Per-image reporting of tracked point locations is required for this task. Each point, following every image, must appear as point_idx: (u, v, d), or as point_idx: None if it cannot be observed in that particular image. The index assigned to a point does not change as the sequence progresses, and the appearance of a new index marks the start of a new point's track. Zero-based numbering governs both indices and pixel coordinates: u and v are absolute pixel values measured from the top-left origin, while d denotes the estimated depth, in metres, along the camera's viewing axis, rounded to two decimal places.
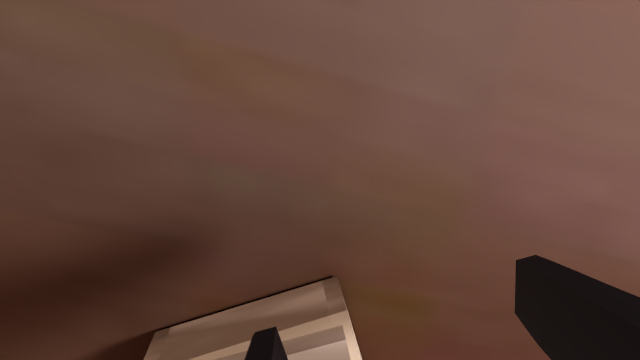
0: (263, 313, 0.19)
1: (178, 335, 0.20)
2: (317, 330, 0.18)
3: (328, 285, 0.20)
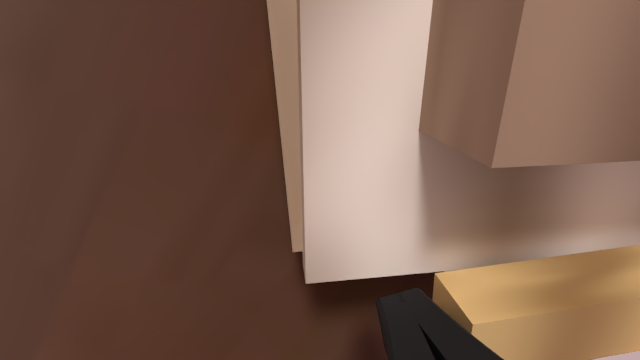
0: None
1: None
2: None
3: None
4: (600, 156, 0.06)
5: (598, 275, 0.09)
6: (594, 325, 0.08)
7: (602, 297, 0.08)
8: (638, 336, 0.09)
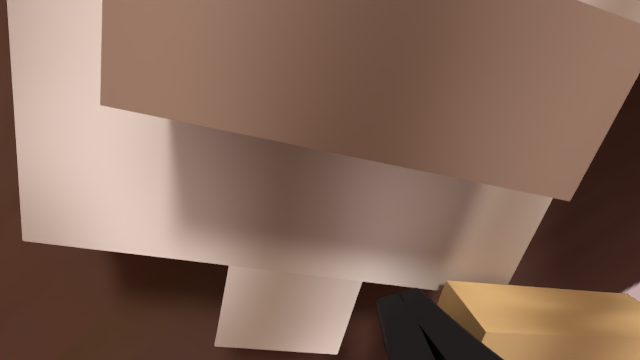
0: None
1: None
2: None
3: None
4: (254, 128, 0.05)
5: (593, 311, 0.10)
6: (587, 356, 0.09)
7: (599, 331, 0.09)
8: None
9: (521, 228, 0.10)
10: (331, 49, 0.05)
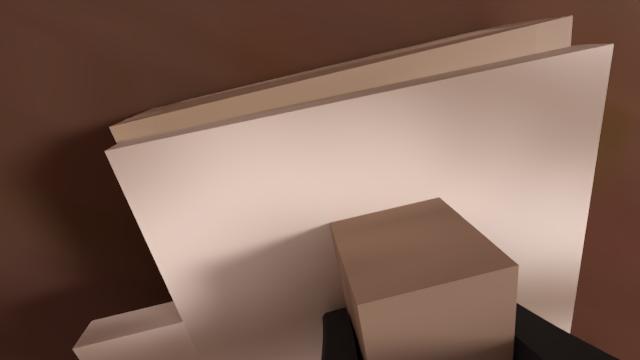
0: (372, 58, 0.10)
1: (199, 99, 0.10)
2: None
3: (490, 28, 0.11)
4: None
5: None
6: None
7: None
8: None
9: None
10: None
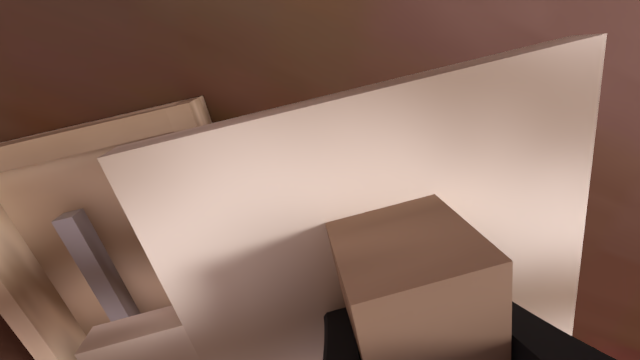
0: (93, 122, 0.15)
1: None
2: (150, 131, 0.14)
3: (186, 100, 0.16)
4: None
5: None
6: None
7: None
8: None
9: None
10: None
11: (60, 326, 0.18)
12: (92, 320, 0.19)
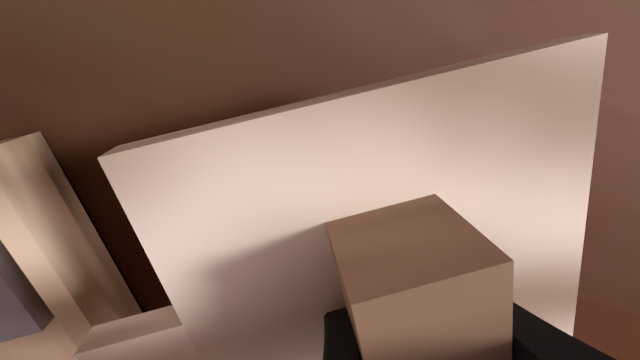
0: None
1: None
2: None
3: (11, 138, 0.12)
4: None
5: None
6: None
7: None
8: None
9: None
10: None
11: None
12: None
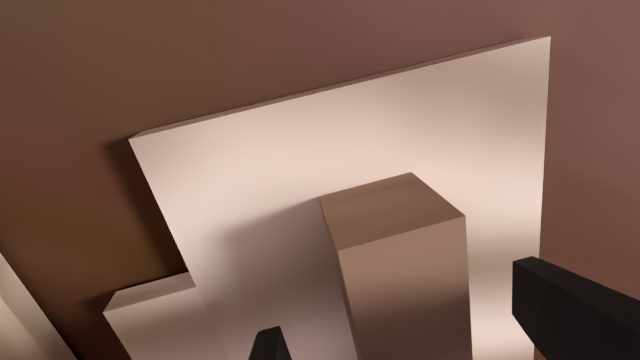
0: None
1: None
2: None
3: None
4: (358, 318, 0.08)
5: None
6: None
7: None
8: None
9: None
10: (413, 329, 0.08)
11: None
12: None
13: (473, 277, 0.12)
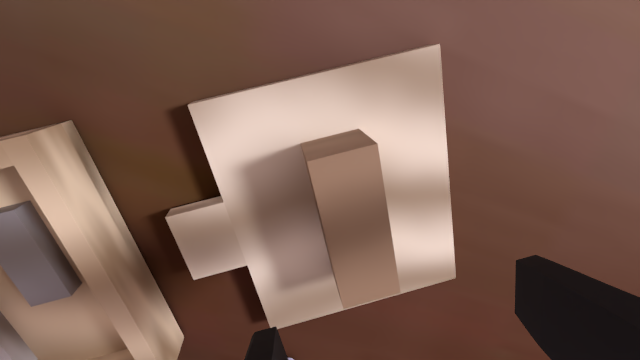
0: None
1: None
2: None
3: (48, 126, 0.14)
4: (320, 205, 0.14)
5: None
6: None
7: None
8: None
9: (310, 312, 0.20)
10: (353, 214, 0.14)
11: None
12: None
13: (406, 203, 0.18)
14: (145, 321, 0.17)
